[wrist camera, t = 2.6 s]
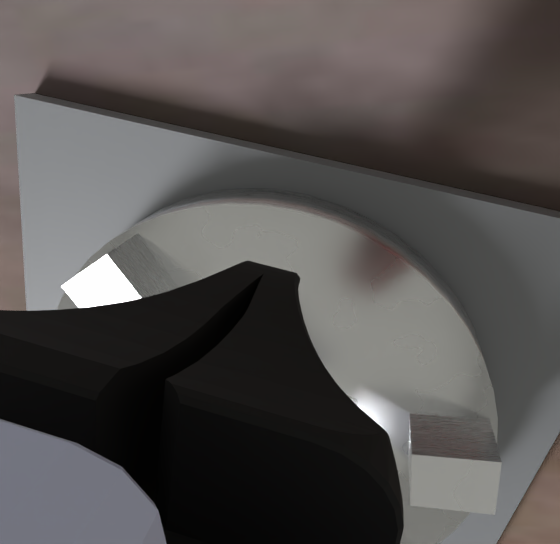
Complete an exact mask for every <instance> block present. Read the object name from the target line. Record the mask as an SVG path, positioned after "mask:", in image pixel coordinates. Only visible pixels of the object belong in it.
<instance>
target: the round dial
mask: <svg viewBox="0 0 560 544" xmlns="http://www.w3.org/2000/svg"><path fill="white" fill-rule="evenodd" d="M244 261H252V262H256V263H260V264H264V265H268V266H272V267H276V268H279V269H283V270H287V271H291V272H295V273H297V274H298V275H299V277H300V283H299V287H298V293H299V301H300V306H301V311H302V315H303V319H304V322H305V325H306V328H307V331H308V334H309V336H310V339H311V341H312V344H313V346H314V348H315V350H316V352H317V354H318V356H319V358H320V359H321V361H322V363H323V365H324V366H325V368H326V369H327V371H328V372H329V373H330V375H331V376H332V378H333V379H334V380H335V382H336V383H337V384H338V386H339V387H340V388H341V389H342V390H343V391H344V392H345V393H346V395H347V396H348V397H349V398H350V399H351V400H352V401H353V402H354V403H355V404H356V405H357V406H358V407H359V408H360V409H361V410H362V411H364V412H365V413H366V414H367V415H368V416H369V417H370V418H372V419H373V420H374V421H375V422H376V423H377V424H379V425H380V426H381V427H382V428H383V429H384V430H385V431H387V433H388V435H389V438H390V441H391V445H392V449H393V453H394V457H395V461H396V465H397V470H398V475H399V481H400V487H401V493H402V500H403V510H404V528H403V533H402V537H401V542H400V544H439V543H440V542H441V541H443V540H444V539H445V538H446V537H447V536H449V535H450V534H451V533H452V532H453V531H454V530H455V529H456V528H457V527H458V526H459V525H460V524H461V523H462V521H463V520H464V519H465V518H466V517H467V516H468V515H469V514H470V512H473V513H482V514H491V515H495V512H496V504H497V496H498V488H499V480H500V472H501V464H502V462H501V458H500V454H499V451H498V447H497V431H498V416H497V409H496V402H495V396H494V390H493V387H492V383H491V380H490V377H489V374H488V371H487V367H486V364H485V361H484V358H483V355H482V352H481V348H480V345H479V342H478V339H477V336H476V333H475V330H474V327H473V325H472V323H471V321H470V319H469V317H468V315H467V314H466V312H465V310H464V308H463V306H462V304H461V302H460V301H459V299H458V298H457V296H456V295H455V293H454V292H453V291H452V289H451V288H450V286H449V285H448V284H447V282H446V281H445V279H444V278H443V277H442V276H441V275H440V274H439V273H438V272H437V271H436V270H435V268H434V267H433V266H432V265H431V264H430V263H429V262H428V261H427V260H426V259H425V258H424V257H423V256H422V255H421V254H420V253H419V252H417V251H416V250H415V249H414V248H412V247H411V246H410V245H409V244H407V243H406V242H405V241H404V240H403V239H401V238H400V237H399V236H398V235H396V234H394V233H393V232H391V231H390V230H388V229H386V228H385V227H383V226H381V225H380V224H378V223H376V222H375V221H373V220H372V219H370V218H368V217H366V216H363V215H361V214H359V213H357V212H355V211H352V210H350V209H348V208H346V207H343V206H341V205H339V204H336V203H332V202H329V201H326V200H322V199H319V198H316V197H312V196H309V195H304V194H298V193H292V192H287V191H281V190H270V189H236V190H226V191H216V192H211V193H207V194H203V195H199V196H195V197H191V198H187V199H184V200H182V201H179V202H177V203H174V204H172V205H169V206H167V207H164V208H162V209H160V210H158V211H157V212H155V213H153V214H152V215H150V216H148V217H147V218H145V219H143V220H142V221H140V222H138V223H137V224H135V225H134V226H132V227H131V228H129V229H128V230H126V231H124V232H123V233H121V234H120V235H118V236H117V237H115V238H113V239H112V240H110V241H109V242H108V243H107V244H105V245H104V246H103V247H102V248H101V249H100V250H98V251H97V252H96V253H95V254H94V255H92V256H91V257H90V258H89V259H88V260H87V262H86V263H85V264H84V265H83V266H82V268H81V269H80V270H79V271H78V272H77V273H76V275H75V276H74V277H73V278H72V279H71V280H69V281H68V282H66V283H65V284H64V285H62V286H61V287H62V288H63V289H64V290H65V292H64V294H63V296H62V298H61V300H60V303H59V305H58V308H57V310H60V309H73V308H84V307H92V306H99V305H106V304H113V303H120V302H126V301H131V300H136V299H140V298H144V297H149V296H153V295H156V294H160V293H164V292H167V291H170V290H173V289H176V288H179V287H182V286H184V285H187V284H190V283H193V282H196V281H199V280H201V279H204V278H206V277H208V276H211V275H213V274H216V273H218V272H220V271H223V270H225V269H227V268H230V267H232V266H234V265H237V264H239V263H241V262H244Z"/></svg>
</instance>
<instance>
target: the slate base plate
mask: <svg viewBox="0 0 560 544" xmlns="http://www.w3.org/2000/svg"><path fill="white" fill-rule="evenodd" d="M14 101H15V118H16V136H17V153H18V170H19V188H20V205H21V223H22V240H23V257H24V275H25V292H26V309H27V311H38V310H57V308H58V305H59V303H60V300H61V298H62V296H63V294H64V292H65V290H64V289H63V288H62V287H61V286H62V285H64V284H65V283H66V282H68V281H69V280H71V279H72V278H73V277H74V276H75V275H76V273H77V272H78V271H79V270H80V269H81V268H82V266H83V265H84V264H85V263H86V262H87V260H88V259H89V258H90V257H91V256H92V255H94V254H95V253H96V252H97V251H98V250H100V249H101V248H102V247H103V246H104V245H105V244H107V243H108V242H109V241H110V240H112V239H113V238H115V237H117V236H118V235H120V234H121V233H123V232H124V231H126V230H128V229H129V228H131V227H132V226H134V225H135V224H137V223H138V222H140V221H142V220H143V219H145V218H147V217H148V216H150V215H152V214H153V213H155V212H157V211H158V210H160V209H162V208H164V207H167V206H169V205H172V204H174V203H177V202H179V201H182V200H184V199H187V198H191V197H195V196H199V195H203V194H207V193H211V192H216V191H226V190H236V189H270V190H281V191H287V192H292V193H298V194H304V195H309V196H312V197H316V198H319V199H322V200H326V201H329V202H332V203H336V204H339V205H341V206H343V207H346V208H348V209H350V210H352V211H355V212H357V213H359V214H361V215H363V216H366V217H368V218H370V219H372V220H373V221H375V222H376V223H378V224H380V225H381V226H383V227H385V228H386V229H388V230H390V231H391V232H393V233H394V234H396V235H398V236H399V237H400V238H401V239H403V240H404V241H405V242H406V243H407V244H409V245H410V246H411V247H412V248H414V249H415V250H416V251H417V252H419V253H420V254H421V255H422V256H423V257H424V258H425V259H426V260H427V261H428V262H429V263H430V264H431V265H432V266H433V267H434V268H435V270H436V271H437V272H438V273H439V274H440V275H441V276H442V277H443V278H444V279H445V281H446V282H447V284H448V285H449V286H450V288H451V289H452V291H453V292H454V293H455V295H456V296H457V298H458V299H459V301H460V302H461V304H462V306H463V308H464V310H465V312H466V314H467V315H468V317H469V319H470V321H471V323H472V325H473V327H474V330H475V333H476V336H477V339H478V342H479V345H480V348H481V352H482V355H483V358H484V361H485V364H486V367H487V371H488V374H489V377H490V380H491V383H492V387H493V390H494V396H495V402H496V409H497V416H498V431H497V447H498V451H499V454H500V458H501V462H502V464H501V472H500V480H499V488H498V496H497V504H496V512H495V515H491V514H482V513H473V512H470V514H469V515H468V516H467V517H466V518H465V519H464V520H463V521H462V523H461V524H460V525H459V526H458V527H457V528H456V529H455V530H454V531H453V532H452V533H451V534H450V535H449V536H447V537H446V538H445V539H444V540H443V541H441V542H440V543H439V544H496V543H497V541H498V540H499V538H500V536H501V534H502V533H503V531H504V529H505V527H506V526H507V524H508V522H509V520H510V518H511V517H512V515H513V513H514V511H515V510H516V508H517V506H518V504H519V503H520V501H521V499H522V497H523V496H524V494H525V492H526V490H527V489H528V487H529V485H530V483H531V482H532V480H533V478H534V476H535V475H536V473H537V471H538V469H539V467H540V466H541V464H542V462H543V460H544V459H545V457H546V455H547V453H548V452H549V450H550V448H551V446H552V445H553V443H554V441H555V439H556V438H557V436H558V434H559V432H560V211H556V210H551V209H547V208H542V207H538V206H533V205H529V204H525V203H520V202H516V201H511V200H507V199H502V198H498V197H493V196H489V195H485V194H480V193H476V192H471V191H467V190H462V189H458V188H453V187H449V186H444V185H440V184H436V183H431V182H427V181H422V180H418V179H413V178H409V177H404V176H400V175H395V174H391V173H387V172H382V171H378V170H373V169H369V168H364V167H360V166H355V165H351V164H346V163H342V162H338V161H333V160H329V159H324V158H320V157H315V156H311V155H306V154H302V153H297V152H293V151H289V150H284V149H280V148H275V147H271V146H266V145H262V144H257V143H253V142H249V141H244V140H240V139H235V138H231V137H226V136H222V135H217V134H213V133H208V132H204V131H200V130H195V129H191V128H186V127H182V126H177V125H173V124H168V123H164V122H159V121H155V120H151V119H146V118H142V117H137V116H133V115H128V114H124V113H119V112H115V111H110V110H106V109H102V108H97V107H93V106H88V105H84V104H79V103H75V102H70V101H66V100H62V99H57V98H53V97H48V96H44V95H39V94H35V93H31V94H20V95H14Z"/></svg>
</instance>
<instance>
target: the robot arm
mask: <svg viewBox="0 0 560 544" xmlns="http://www.w3.org/2000/svg"><path fill="white" fill-rule="evenodd" d="M299 283H300V277H299V275H298V274H297V273H295V272H291V271H287V270H283V269H279V268H276V267H272V266H268V265H264V264H260V263H256V262H252V261H244V262H241V263H239V264H237V265H234V266H232V267H230V268H227V269H225V270H223V271H220V272H218V273H216V274H213V275H211V276H208V277H206V278H204V279H201V280H199V281H196V282H193V283H190V284H187V285H184V286H182V287H179V288H176V289H173V290H170V291H167V292H164V293H160V294H156V295H153V296H149V297H144V298H140V299H136V300H131V301H126V302H120V303H113V304H106V305H99V306H92V307H84V308H73V309H60V310H38V311H5V310H0V544H400V542H401V537H402V533H403V528H404V510H403V500H402V493H401V487H400V481H399V475H398V470H397V465H396V461H395V457H394V453H393V449H392V445H391V441H390V438H389V435H388V433H387V431H385V430H384V429H383V428H382V427H381V426H380V425H379V424H377V423H376V422H375V421H374V420H373V419H372V418H370V417H369V416H368V415H367V414H366V413H365V412H364V411H362V410H361V409H360V408H359V407H358V406H357V405H356V404H355V403H354V402H353V401H352V400H351V399H350V398H349V397H348V396H347V395H346V393H345V392H344V391H343V390H342V389H341V388H340V387H339V386H338V384H337V383H336V382H335V380H334V379H333V378H332V376H331V375H330V373H329V372H328V371H327V369H326V368H325V366H324V365H323V363H322V361H321V359H320V358H319V356H318V354H317V352H316V350H315V348H314V346H313V344H312V341H311V339H310V336H309V334H308V331H307V328H306V325H305V322H304V319H303V315H302V311H301V306H300V301H299V293H298V287H299Z"/></svg>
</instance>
